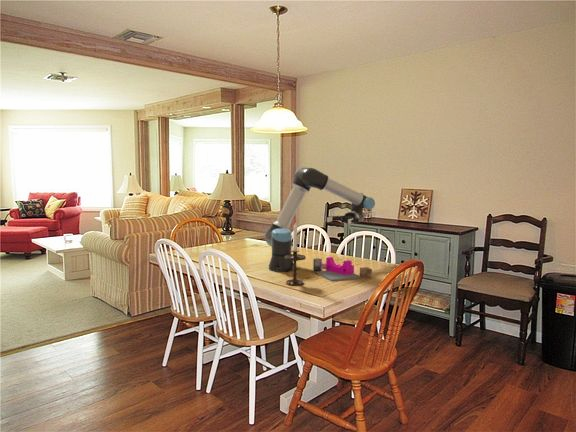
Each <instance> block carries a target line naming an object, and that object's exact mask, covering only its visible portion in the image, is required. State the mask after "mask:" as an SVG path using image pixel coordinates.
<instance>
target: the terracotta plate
mask: <svg viewBox="0 0 576 432" xmlns="http://www.w3.org/2000/svg"><path fill="white" fill-rule="evenodd" d="M322 269H326V261H322Z"/></svg>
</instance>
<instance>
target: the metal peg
mask: <svg viewBox="0 0 576 432" xmlns="http://www.w3.org/2000/svg"><path fill="white" fill-rule="evenodd" d="M312 261H313V262H312V264H313V265H312V266H313V267H312V268H313V269H312V271H313V272H315V273H317V272H318V271H323V270H322V269H323V268H322V262H323V258H319V257H318V258H313V260H312Z"/></svg>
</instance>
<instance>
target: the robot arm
mask: <svg viewBox="0 0 576 432" xmlns="http://www.w3.org/2000/svg"><path fill="white" fill-rule="evenodd" d="M291 185H292V189H291V190H290V193H288V194H289V195H288V196H287V198H286V200H285V203H284V204H283V207H282V209H281V210H280V213H279V214H278V216H277V219H276V221H274V222H272V223H271V226H270V227H269V228H268V229H266V231H265V233H264V240H265V243H266V244H267V245H268V246H269V247H271V257H270V260H269V264H268V270H269V271H274V272H279V273H280V272H282V273H283V272H290V271H293V270H292V269H293V268H294V261H292V260H287V259H285V255H289V254H292V252H291V251H292V240H293V239H292V238H293V237H292V236H293V235H292V232H291V230H290V229H289V227H290V225H291V223H292V221H293V219H294V218H295V215H296V213H297V211H298V209H299V207H300V205H301V203H302V201H303V199H304V197H305V194H308V193H309V192H310V190H311V188H314V189H317V190H319V191H325V192H328V193H330V194H332V195H334V196H337V197H339V198H340V199H343V200H344V201H348V202H349V203H350V204H351V209H350V212H345V214H344V215H331V216H327V217H326V223H331V222H338V221H339V222H344V223H345V224H348V225H354V224H359V223H360V222H362V221H364V219H365V212H363V211H364V209H365V210H367V211H368V210H372V209H374V207H375V205H376V201H375V199H374V198H373V197H370V196H366V195H364V193H363V192H359V191H357V190H354V189H352V188H350V187H348V186H346V185H344V184H343V183H340V182H338V181H336V180H334V179H331V178H330V177H329V175H327V174H325V173H324V172H322V171H320V170H319V169H316V168H313V167H301V168H299V169H297V170H296V171H295V173H294V176H293V181H292V183H291Z"/></svg>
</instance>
